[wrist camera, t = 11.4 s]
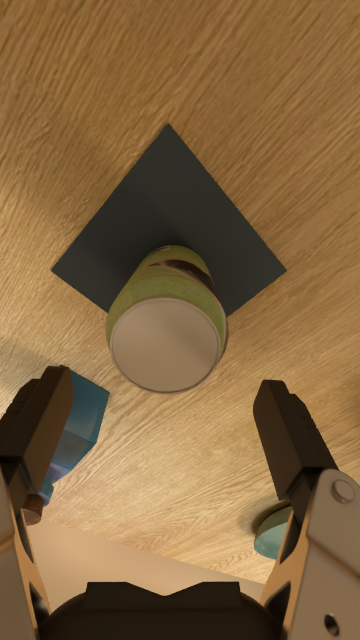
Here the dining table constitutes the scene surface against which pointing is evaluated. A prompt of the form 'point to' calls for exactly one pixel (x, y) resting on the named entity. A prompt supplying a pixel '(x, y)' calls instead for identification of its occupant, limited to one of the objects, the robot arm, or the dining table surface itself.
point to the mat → (168, 230)
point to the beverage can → (167, 323)
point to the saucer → (272, 533)
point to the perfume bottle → (70, 442)
